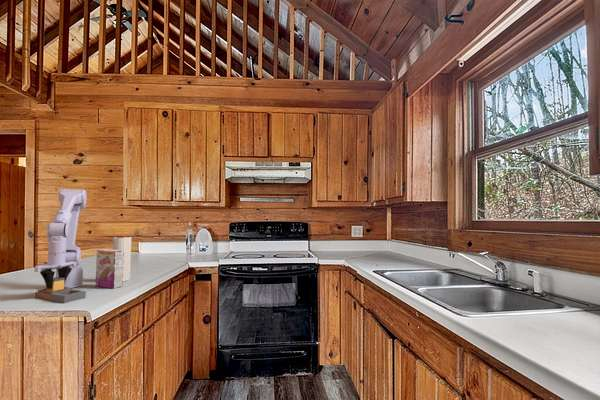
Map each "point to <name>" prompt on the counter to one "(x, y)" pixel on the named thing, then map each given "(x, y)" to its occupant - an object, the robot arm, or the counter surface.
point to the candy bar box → (109, 268)
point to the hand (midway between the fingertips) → (55, 287)
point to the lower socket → (67, 295)
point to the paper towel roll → (125, 246)
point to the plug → (57, 284)
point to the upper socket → (47, 293)
